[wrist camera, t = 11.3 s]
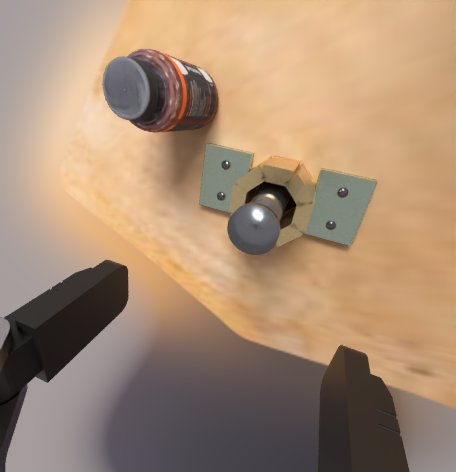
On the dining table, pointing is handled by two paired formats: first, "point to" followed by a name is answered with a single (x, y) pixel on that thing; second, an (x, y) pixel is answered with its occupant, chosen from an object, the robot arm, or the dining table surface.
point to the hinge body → (299, 186)
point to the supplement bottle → (159, 92)
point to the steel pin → (259, 220)
